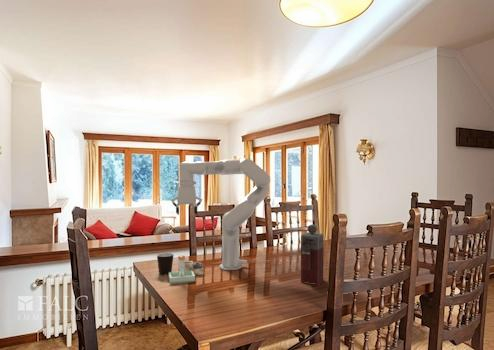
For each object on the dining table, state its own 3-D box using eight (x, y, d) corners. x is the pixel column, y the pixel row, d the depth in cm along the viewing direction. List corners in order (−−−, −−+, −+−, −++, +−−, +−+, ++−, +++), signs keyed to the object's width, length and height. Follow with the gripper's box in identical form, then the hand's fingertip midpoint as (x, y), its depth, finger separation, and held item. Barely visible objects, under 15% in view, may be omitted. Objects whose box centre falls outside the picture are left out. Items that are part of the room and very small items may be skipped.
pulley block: (201, 270, 183) (201, 259, 183) (203, 274, 176) (203, 263, 176) (180, 272, 180) (180, 261, 180) (182, 276, 173) (182, 264, 173)
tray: (192, 276, 173) (192, 270, 173) (194, 281, 164) (195, 275, 164) (168, 278, 170) (168, 272, 170) (169, 284, 160) (169, 277, 160)
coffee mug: (169, 276, 173) (169, 257, 173) (153, 275, 174) (154, 256, 174) (178, 270, 184) (178, 251, 184) (163, 269, 186) (163, 251, 186)
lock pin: (184, 276, 169) (184, 255, 169) (185, 279, 166) (185, 256, 166) (177, 277, 168) (177, 255, 168) (178, 279, 165) (178, 257, 165)
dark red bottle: (298, 283, 162) (299, 225, 162) (306, 277, 172) (306, 222, 172) (317, 286, 158) (317, 227, 158) (323, 280, 167) (323, 224, 167)
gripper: (201, 183, 194) (200, 213, 194) (170, 183, 189) (170, 213, 189) (203, 184, 187) (203, 214, 187) (171, 184, 182) (171, 215, 182)
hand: (186, 214), depth 188 cm, fingers open, 9 cm apart
